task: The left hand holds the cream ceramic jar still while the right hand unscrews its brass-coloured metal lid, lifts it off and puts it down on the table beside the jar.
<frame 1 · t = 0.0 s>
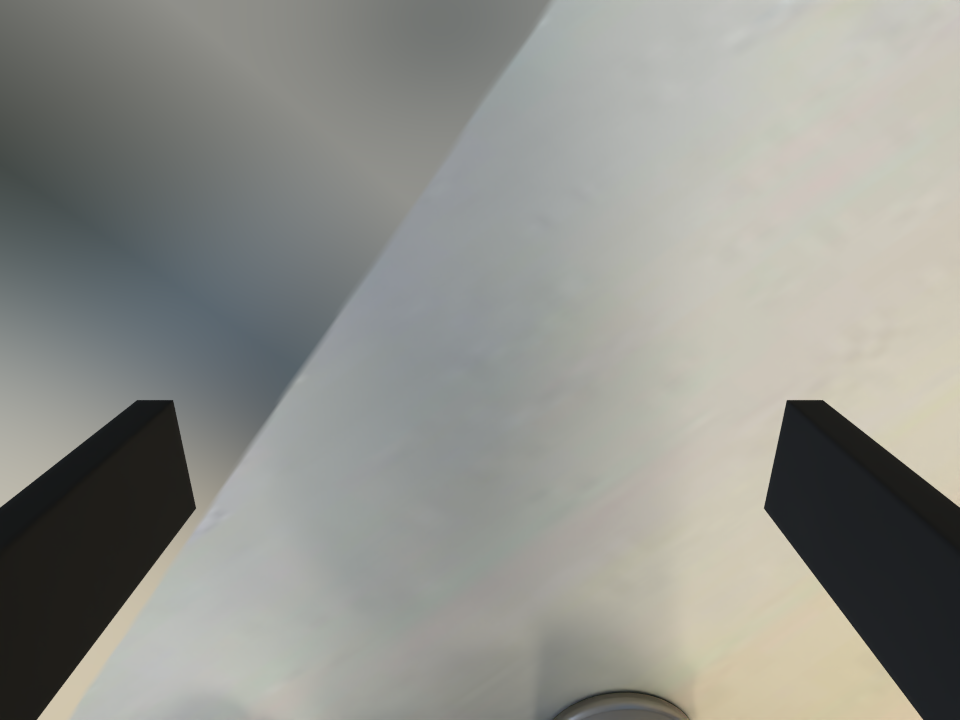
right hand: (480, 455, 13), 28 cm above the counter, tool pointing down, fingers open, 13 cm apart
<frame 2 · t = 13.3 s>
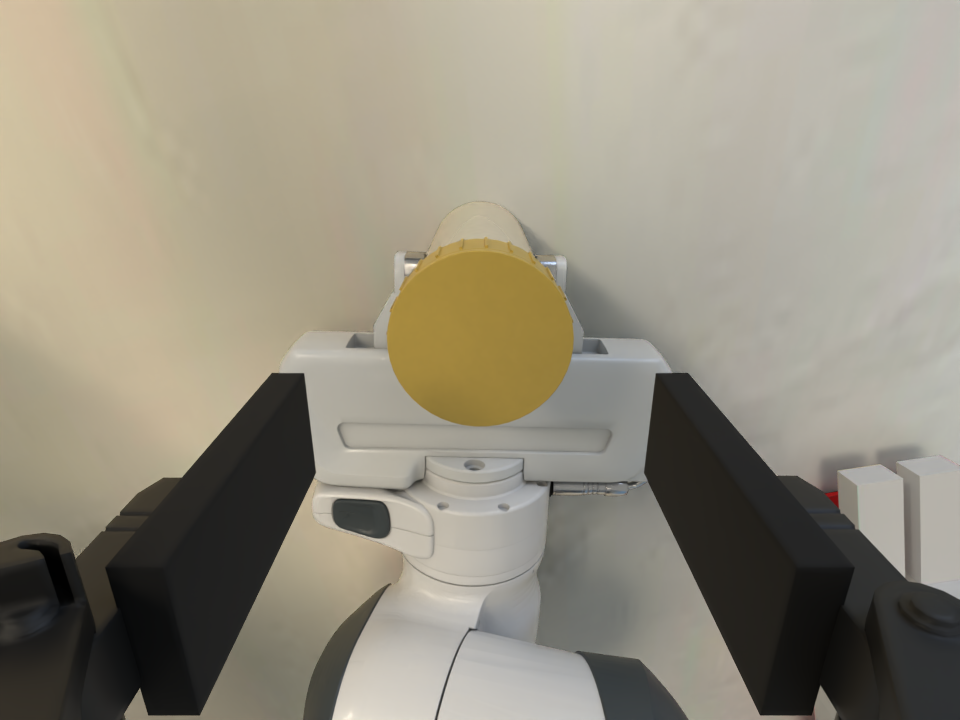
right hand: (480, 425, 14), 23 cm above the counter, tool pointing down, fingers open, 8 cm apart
left hand: (479, 255, 29), fingers closed on jar, 5 cm apart
lid: (480, 340, 20), point 16 cm above the counter, screwed on, not yet turned
jar: (480, 249, 35), on the counter, touching left hand
toy: (847, 605, 45), on the counter
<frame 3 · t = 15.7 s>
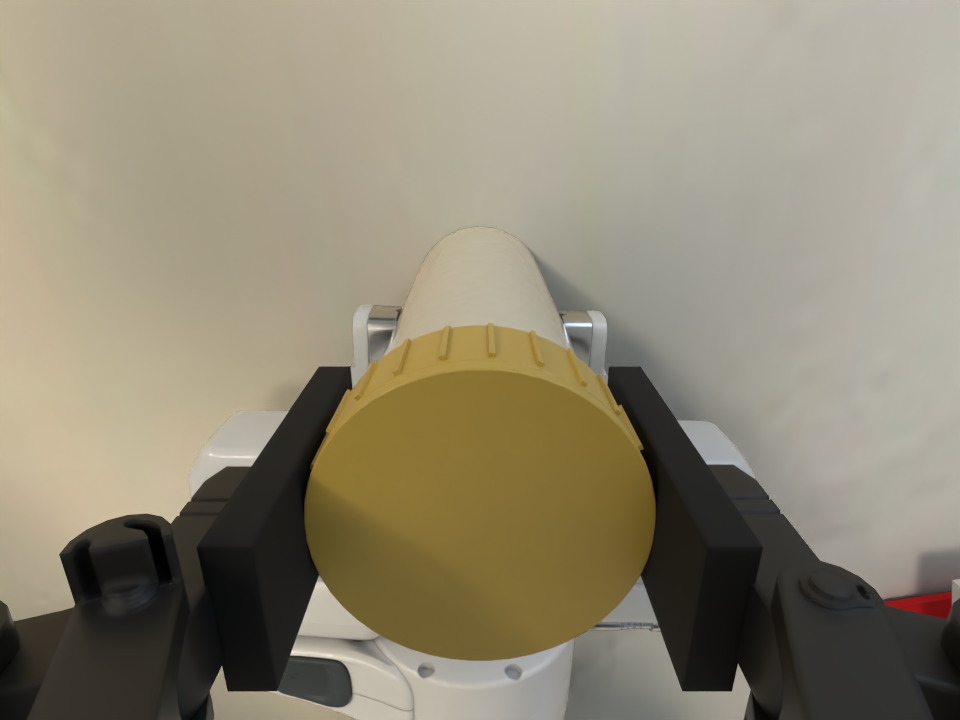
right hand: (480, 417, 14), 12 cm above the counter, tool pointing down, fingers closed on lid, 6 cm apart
lid: (480, 519, 11), point 16 cm above the counter, screwed on, not yet turned, touching right hand
jar: (479, 290, 26), on the counter, touching left hand
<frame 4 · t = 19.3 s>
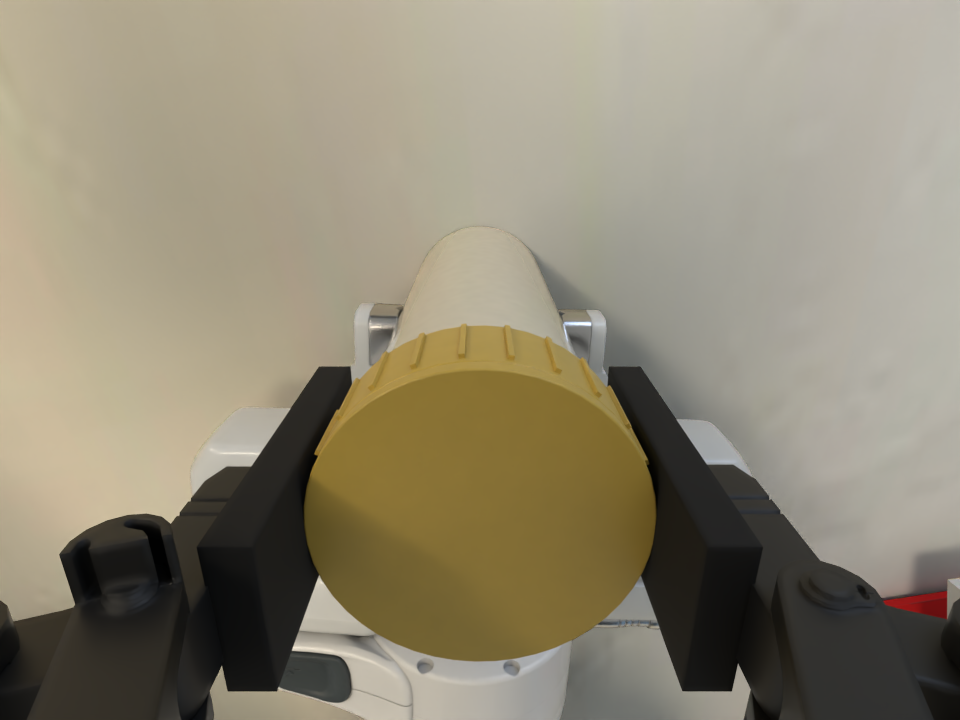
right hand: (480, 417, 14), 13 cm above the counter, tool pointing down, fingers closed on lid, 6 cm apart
lid: (480, 519, 11), point 17 cm above the counter, turned 129° so far, risen 0.2 cm, still on its thread, touching right hand
jar: (479, 289, 26), on the counter, touching left hand
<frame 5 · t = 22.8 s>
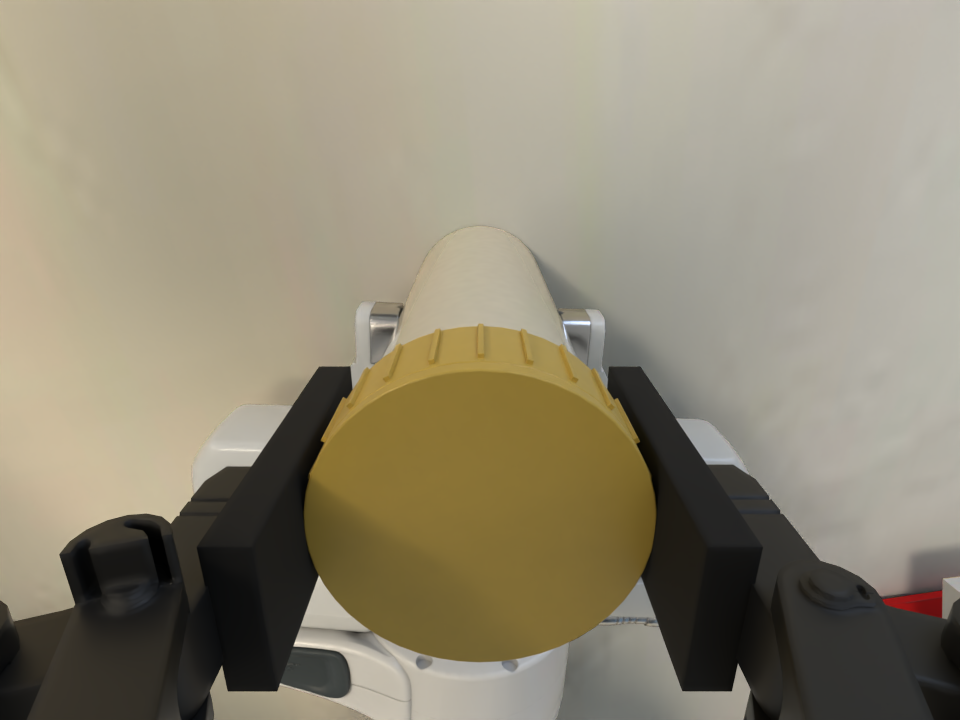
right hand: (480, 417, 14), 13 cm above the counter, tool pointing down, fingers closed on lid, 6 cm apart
lid: (480, 520, 11), point 17 cm above the counter, turned 259° so far, risen 0.4 cm, still on its thread, touching right hand
jar: (479, 288, 26), on the counter, touching left hand
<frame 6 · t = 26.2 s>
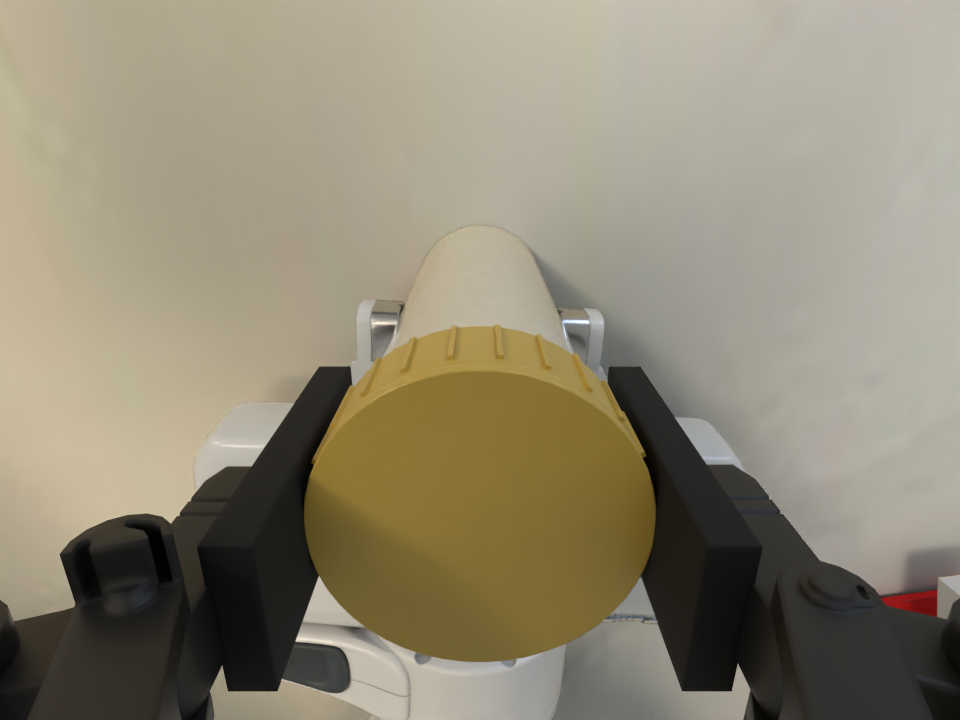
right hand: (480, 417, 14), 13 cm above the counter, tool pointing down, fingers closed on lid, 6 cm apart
lid: (479, 520, 11), point 17 cm above the counter, turned 388° so far, risen 0.6 cm, still on its thread, touching right hand
jar: (479, 287, 27), on the counter, touching left hand
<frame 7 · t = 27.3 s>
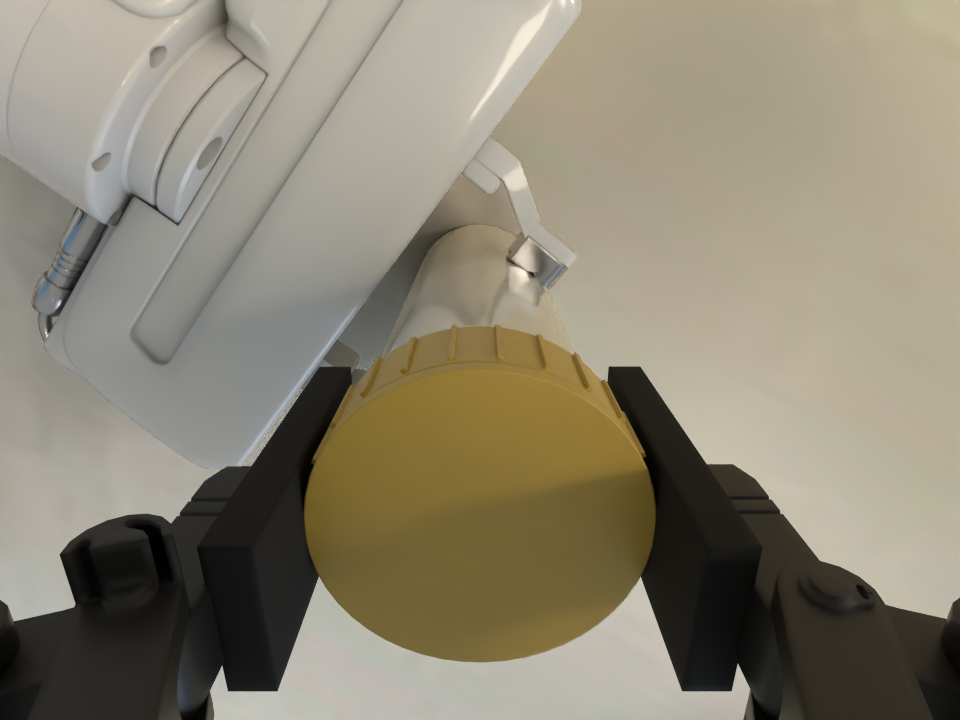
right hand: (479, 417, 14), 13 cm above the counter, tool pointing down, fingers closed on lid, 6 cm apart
left hand: (499, 343, 21), fingers closed on jar, 5 cm apart
lid: (479, 520, 11), point 17 cm above the counter, off its thread, touching right hand
jar: (479, 286, 27), on the counter, touching left hand
when the right hand's fingers open (0 cm above the counter, at t = 33.5 s): lid drops 2 cm, point 2 cm above the counter.
when the left hand's fingers open (6 cm above the counter, at t = 34.2 s): jar stays where it is, on the counter.
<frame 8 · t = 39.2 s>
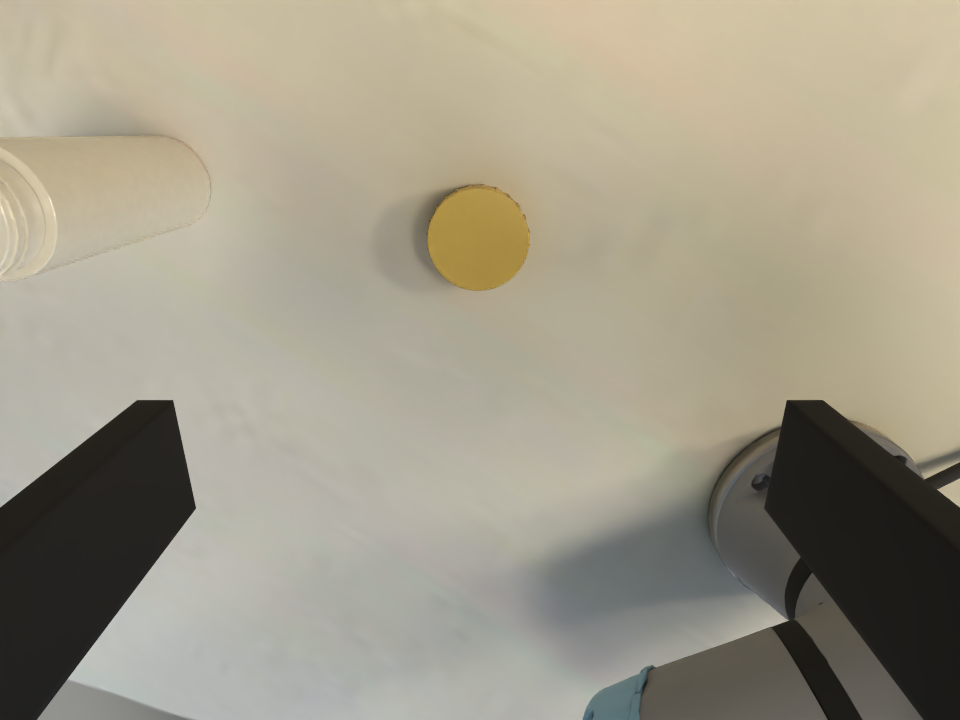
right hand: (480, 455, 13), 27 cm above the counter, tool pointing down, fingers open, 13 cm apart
lid: (478, 240, 36), point 2 cm above the counter, off its thread
jar: (166, 183, 37), on the counter
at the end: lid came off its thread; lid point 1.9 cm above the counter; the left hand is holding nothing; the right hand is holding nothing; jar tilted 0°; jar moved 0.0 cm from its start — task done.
